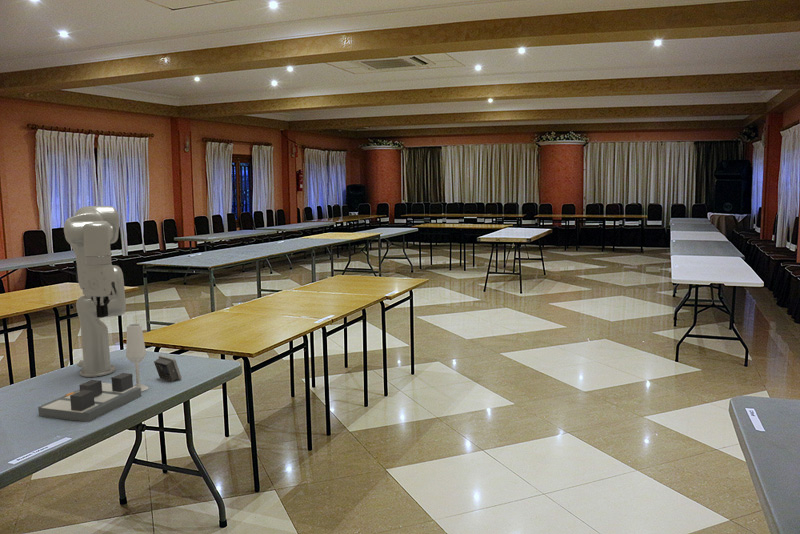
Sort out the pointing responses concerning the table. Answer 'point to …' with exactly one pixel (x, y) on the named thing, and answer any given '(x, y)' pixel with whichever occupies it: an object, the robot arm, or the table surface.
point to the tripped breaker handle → (92, 386)
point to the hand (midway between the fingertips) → (102, 316)
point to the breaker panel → (92, 411)
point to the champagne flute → (136, 349)
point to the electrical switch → (167, 368)
